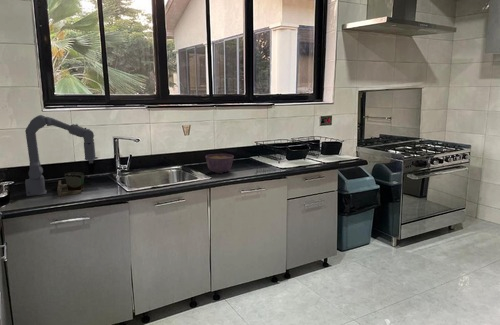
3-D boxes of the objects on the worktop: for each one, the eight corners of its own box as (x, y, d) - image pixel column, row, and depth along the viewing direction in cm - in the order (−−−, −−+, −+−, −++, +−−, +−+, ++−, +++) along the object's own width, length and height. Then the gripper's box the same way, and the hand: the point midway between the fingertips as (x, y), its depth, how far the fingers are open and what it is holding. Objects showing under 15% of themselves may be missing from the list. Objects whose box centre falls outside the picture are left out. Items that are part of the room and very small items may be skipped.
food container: (90, 189, 220) (89, 172, 218) (83, 192, 214) (81, 175, 212) (73, 187, 223) (71, 171, 221) (65, 190, 217) (63, 173, 215)
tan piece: (58, 197, 204) (57, 190, 203) (59, 186, 225) (58, 180, 224) (81, 194, 209) (80, 187, 208) (80, 184, 230) (80, 178, 229)
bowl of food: (200, 174, 258) (200, 157, 255) (212, 168, 276) (212, 153, 274) (227, 176, 251) (227, 159, 249) (238, 170, 270) (237, 154, 268)
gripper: (97, 151, 213) (99, 174, 215) (96, 148, 226) (98, 169, 228) (84, 152, 210) (86, 176, 212) (83, 148, 223) (85, 171, 225)
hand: (91, 173), depth 220 cm, fingers closed
